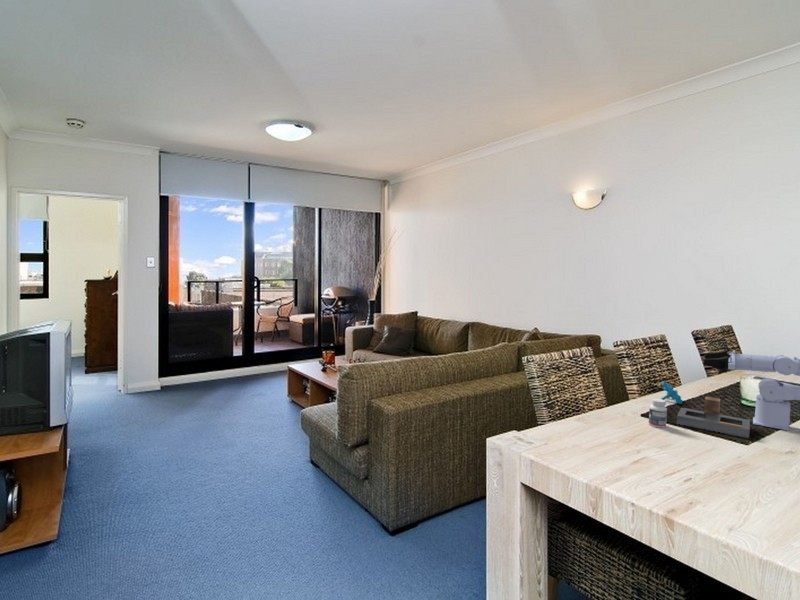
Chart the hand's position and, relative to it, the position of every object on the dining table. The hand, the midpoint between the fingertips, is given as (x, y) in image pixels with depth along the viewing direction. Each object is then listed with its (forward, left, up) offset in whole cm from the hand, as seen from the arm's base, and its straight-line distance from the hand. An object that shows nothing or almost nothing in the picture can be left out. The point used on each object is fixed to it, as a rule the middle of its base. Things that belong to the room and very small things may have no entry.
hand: (704, 359), depth 168 cm
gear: (+10, -9, -21) cm, 25 cm away
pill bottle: (+10, +27, -21) cm, 36 cm away
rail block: (-5, +15, -20) cm, 26 cm away
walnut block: (-4, +4, -21) cm, 21 cm away
